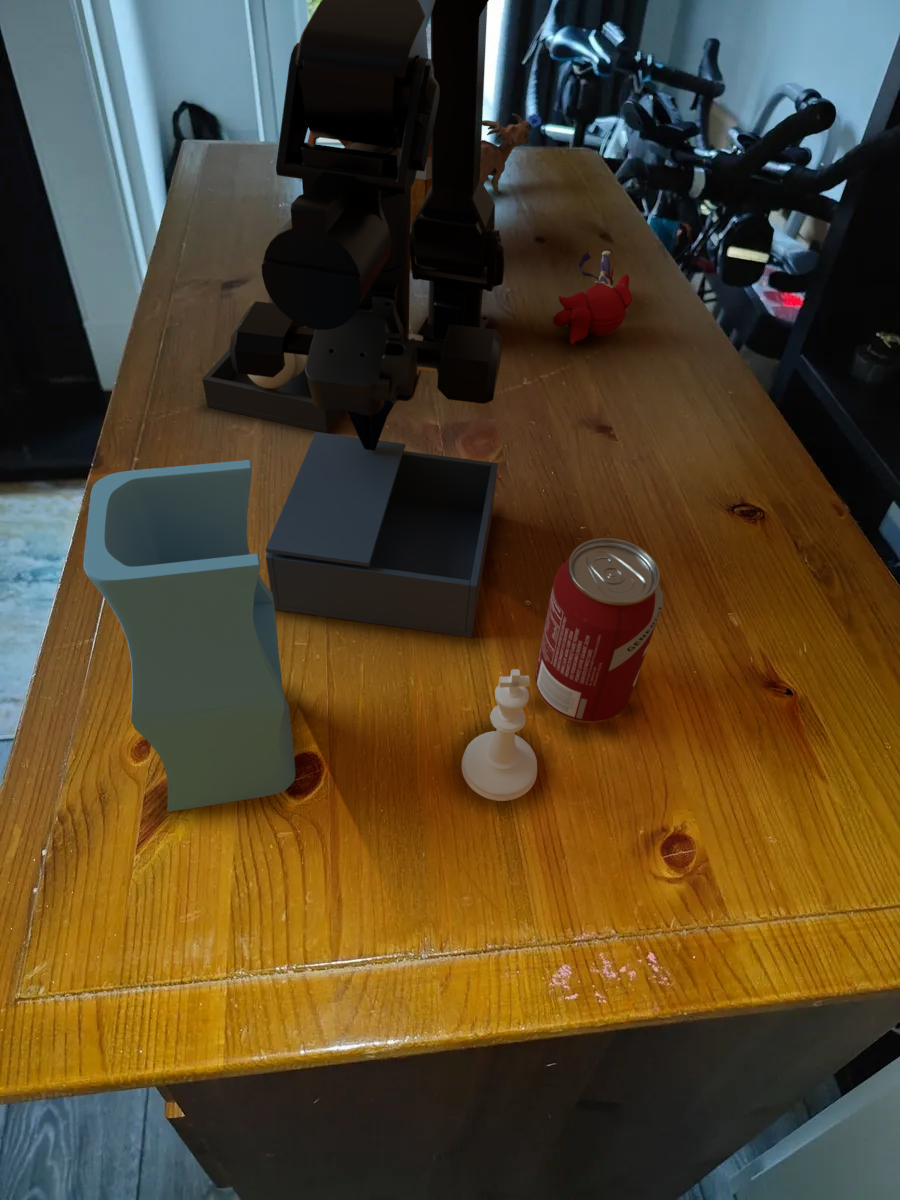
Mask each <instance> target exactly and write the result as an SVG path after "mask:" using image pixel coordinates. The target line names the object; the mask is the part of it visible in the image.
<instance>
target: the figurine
mask: <svg viewBox="0 0 900 1200" xmlns="http://www.w3.org/2000/svg"><path fill="white" fill-rule="evenodd" d="M612 254H613V251H612V249H603V250H602V251H601V255H602V256H601V259H600V263H599V264H600V267H599V276H597V275H594V274H593V273H590V272H588V271H584V270H582V268H583V266H584V264H585V263H586V262H587V261H589V260H590V259H592V257H591V254H590V249H587V251H586V252H584V253H583V255H582V256H581V258H580V260H579V262H578V263H577V266H578V271H580V273H581V274H582V275H583V276H585V277H586V276H587V277H590V278H591V277H592V278H594V279H596V280H595V281H594V283H595V285H592V286H590V287H588V289H587V290H586V292H584V291H580V292H577V293H574V294H572V295H571V296H558V301H559V303H560V305H561V306H562V307H563V309H561V310H559V311H558V312H556V313H555V315H553V317H552V322H553V323H552V324H553V326H555V327H558V328H562V327H563V328H564V327H565V326H567V327H568V328H569V329H570V331H569V333H570V334H569V337H570V338H569V343H570V345H574V344H575V343H576V342H579V341H582V340H583V339H585V338H587V336H588V334H589V331H590V332H591V333H592V334H594V335H595V336H597V337H598V336H600V337H601V336H608V335H610V334H612V333H614V332H615V331H616V330H618V328H619V327H620V326H621V325H622V324H623V323H624V320H625V318H626V315H627V314H626V313H627V309H628V308H629V307H630V306H631V304H632V303H633V294H632V292H631V290H630V276H629V275H628V274H627V273H625V274H623V276H622V277H620V278H619V280H618V281H617V284H615V286H614V287H613V284H614V280H613V277H614V269H615V268H614V265H612V267H611V260H610V258H609V256H612Z"/></svg>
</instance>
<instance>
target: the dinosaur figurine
mask: <svg viewBox="0 0 900 1200" xmlns="http://www.w3.org/2000/svg"><path fill="white" fill-rule="evenodd" d="M511 116H513V117H514V118H515V119H516V120H517V122H518V123H517V124H514V123H510V124H508V125H507V126H505V127H504V126H503V125H500V124H501V122H500V121H499V120H496V121H493V120H488V119H487V120H485V119H484V120H482V127H487V131H488V130H489V131H488V132H487V134H486V136H489V135H493V134H496V135H495V138H494V143H495V144H494V143H492V142H490V141H487V140H485V139H482V140H481V163H480V179H481V181H482V183H483V184H484V185H485V183H486V182H488V180H490V178H489V176H490V177H492V178H491V186H492V190H493V193H495V194H496V195H503V192H501V190H499V181H500V179H501V177H502V174H503V173H504V172H505V170H506V163H507V161H508V159H509V157H510V155H511V154H512V152H513V150H514V149H515V148H516V147H518V146H520V144H528V143H529V142H530V140H531V139H530V137H529V136H530V133H529V131H532V130H533V126H532V124H531V123H529V122H528V121H526V120H523V119H522V117H521V116H520V115H518V114H517V113H512V114H511ZM499 138H500V144H499V145H497V144H496V142H497V141H498V140H499Z"/></svg>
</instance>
